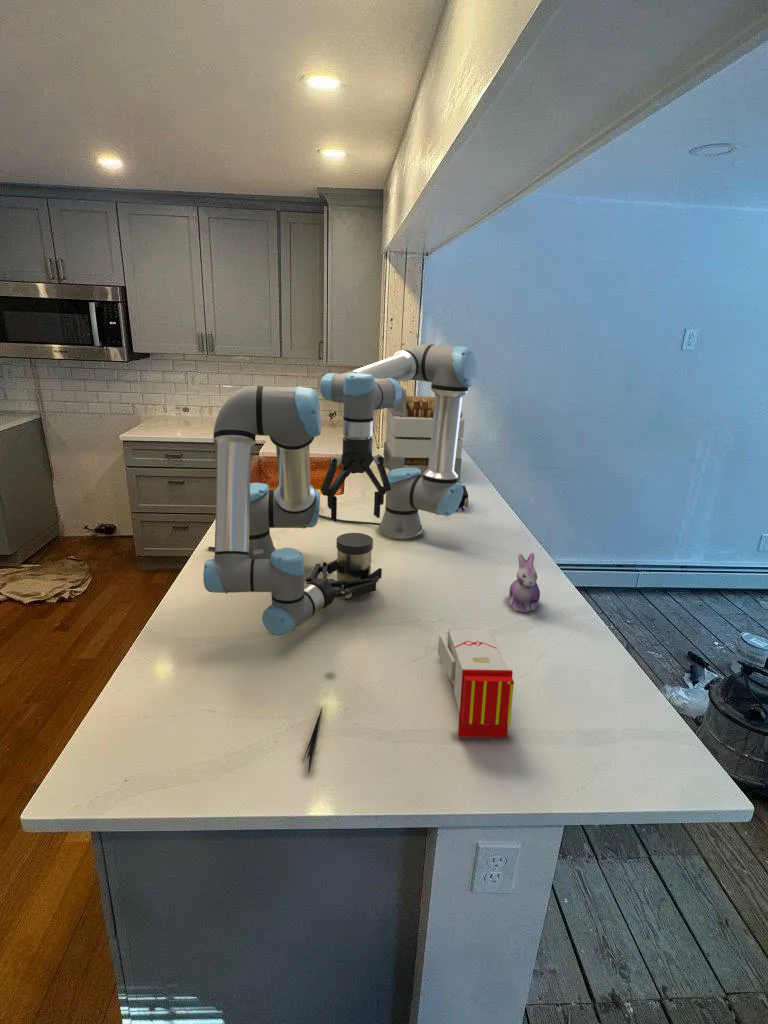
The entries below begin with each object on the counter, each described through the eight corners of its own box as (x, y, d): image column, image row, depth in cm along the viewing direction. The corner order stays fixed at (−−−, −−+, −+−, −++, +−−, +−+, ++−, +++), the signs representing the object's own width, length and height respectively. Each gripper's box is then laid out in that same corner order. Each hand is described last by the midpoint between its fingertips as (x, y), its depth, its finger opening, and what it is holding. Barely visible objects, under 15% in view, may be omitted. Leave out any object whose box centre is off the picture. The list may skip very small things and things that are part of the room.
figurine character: (468, 516, 224) (463, 500, 237) (471, 498, 221) (465, 483, 234) (452, 515, 224) (447, 499, 237) (453, 498, 220) (449, 482, 234)
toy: (488, 613, 130) (523, 677, 101) (484, 667, 133) (517, 744, 104) (435, 612, 130) (455, 676, 101) (432, 666, 133) (451, 743, 103)
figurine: (522, 617, 148) (530, 565, 143) (498, 599, 157) (504, 549, 152) (549, 609, 153) (558, 559, 148) (524, 593, 161) (531, 544, 156)
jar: (330, 593, 156) (330, 542, 151) (349, 581, 164) (351, 532, 158) (357, 603, 152) (358, 550, 146) (376, 590, 159) (378, 540, 154)
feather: (331, 679, 122) (336, 673, 122) (307, 777, 96) (313, 769, 95) (324, 675, 122) (329, 669, 121) (298, 772, 95) (304, 764, 95)
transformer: (382, 463, 289) (386, 382, 275) (445, 464, 293) (451, 384, 279) (390, 482, 257) (394, 392, 243) (460, 483, 261) (468, 394, 247)
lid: (329, 548, 152) (329, 540, 151) (350, 537, 159) (350, 529, 159) (358, 557, 147) (359, 549, 146) (379, 545, 155) (380, 538, 154)
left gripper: (276, 597, 148) (325, 568, 165) (354, 625, 136) (398, 590, 154) (276, 571, 145) (326, 544, 163) (354, 597, 134) (399, 565, 151)
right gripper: (396, 432, 150) (392, 509, 157) (308, 435, 142) (308, 516, 150) (406, 438, 143) (402, 519, 151) (315, 441, 136) (315, 526, 143)
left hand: (361, 566), depth 158 cm, fingers open, 12 cm apart
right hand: (355, 517), depth 150 cm, fingers open, 11 cm apart
